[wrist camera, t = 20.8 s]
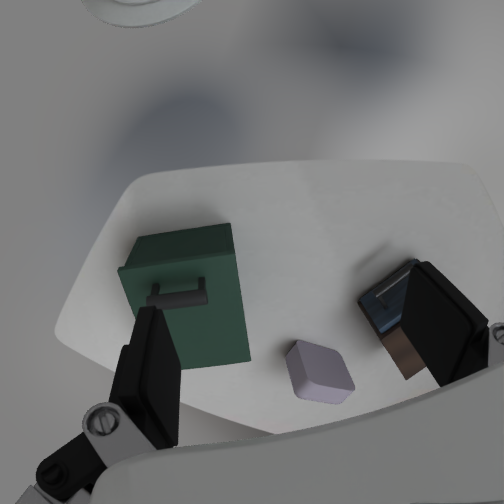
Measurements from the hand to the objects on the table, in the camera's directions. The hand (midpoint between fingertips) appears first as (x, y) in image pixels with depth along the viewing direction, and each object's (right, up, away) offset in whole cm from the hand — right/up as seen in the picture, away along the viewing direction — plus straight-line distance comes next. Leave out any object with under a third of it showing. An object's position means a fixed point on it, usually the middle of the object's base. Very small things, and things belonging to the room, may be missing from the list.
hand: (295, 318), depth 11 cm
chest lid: (-9, -5, +25) cm, 27 cm away
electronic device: (+9, -16, +44) cm, 47 cm away
